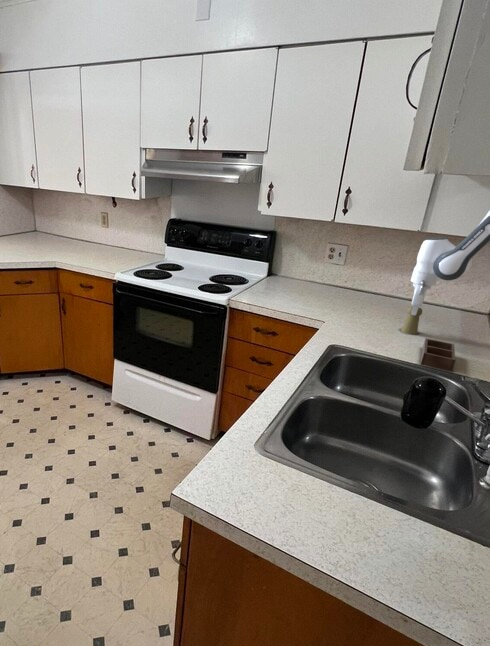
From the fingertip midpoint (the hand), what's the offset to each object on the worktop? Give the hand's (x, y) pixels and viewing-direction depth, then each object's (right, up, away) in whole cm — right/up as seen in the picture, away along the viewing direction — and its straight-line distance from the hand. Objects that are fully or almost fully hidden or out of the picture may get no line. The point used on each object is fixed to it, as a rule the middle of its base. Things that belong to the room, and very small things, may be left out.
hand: (414, 311), depth 173 cm
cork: (0, -9, +3) cm, 9 cm away
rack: (-6, -19, -23) cm, 30 cm away
